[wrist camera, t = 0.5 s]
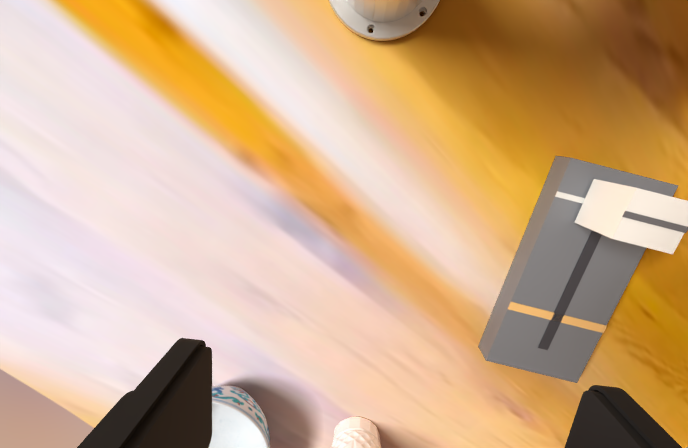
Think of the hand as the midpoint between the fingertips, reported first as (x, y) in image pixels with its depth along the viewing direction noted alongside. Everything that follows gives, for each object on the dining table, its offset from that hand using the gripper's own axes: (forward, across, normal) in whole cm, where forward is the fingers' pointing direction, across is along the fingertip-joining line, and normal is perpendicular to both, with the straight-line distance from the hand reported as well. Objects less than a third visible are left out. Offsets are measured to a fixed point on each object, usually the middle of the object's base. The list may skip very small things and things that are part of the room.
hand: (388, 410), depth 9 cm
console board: (+34, -25, +8) cm, 43 cm away
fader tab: (+31, -27, -1) cm, 41 cm away
